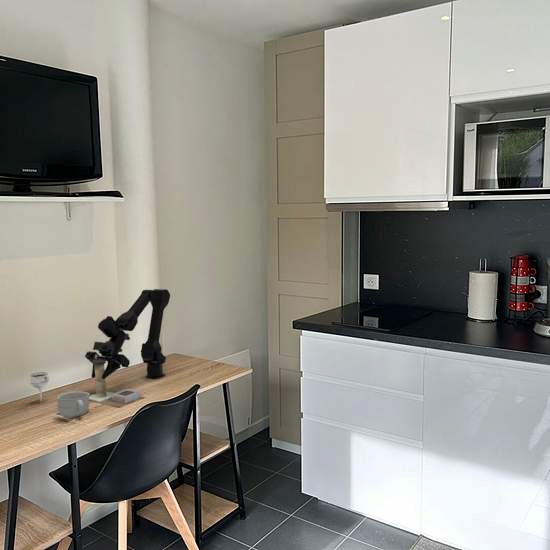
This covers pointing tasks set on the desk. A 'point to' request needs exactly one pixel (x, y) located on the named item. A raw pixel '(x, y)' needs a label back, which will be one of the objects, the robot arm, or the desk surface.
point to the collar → (126, 396)
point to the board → (114, 404)
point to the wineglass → (39, 381)
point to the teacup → (73, 404)
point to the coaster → (100, 399)
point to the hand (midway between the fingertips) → (97, 378)
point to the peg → (100, 377)
